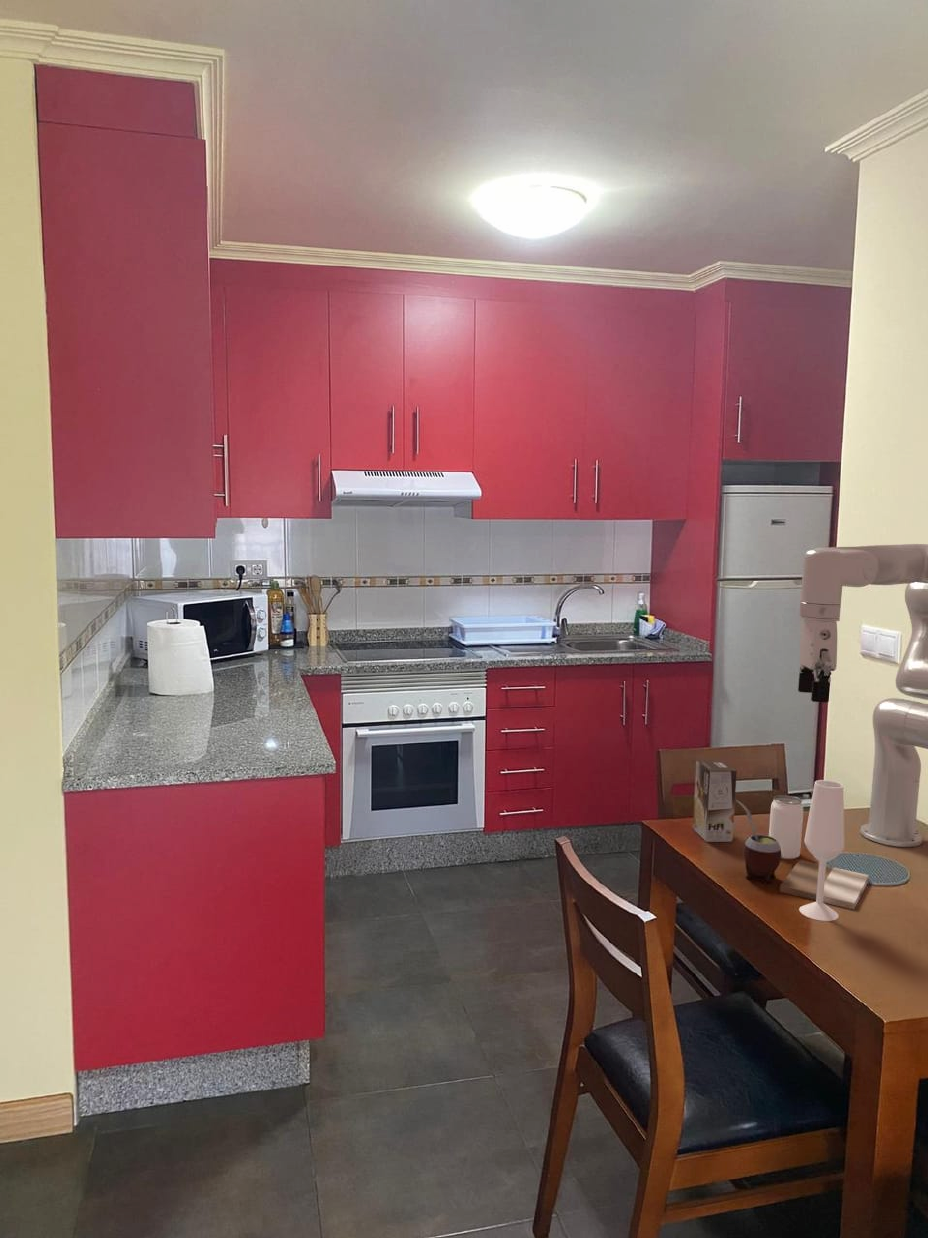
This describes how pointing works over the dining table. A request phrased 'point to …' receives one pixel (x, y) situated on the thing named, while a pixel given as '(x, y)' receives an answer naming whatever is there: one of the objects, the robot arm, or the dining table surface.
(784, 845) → the can
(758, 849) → the mate gourd
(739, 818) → the dining table surface
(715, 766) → the coffee box
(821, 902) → the champagne flute
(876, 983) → the dining table surface
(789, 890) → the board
